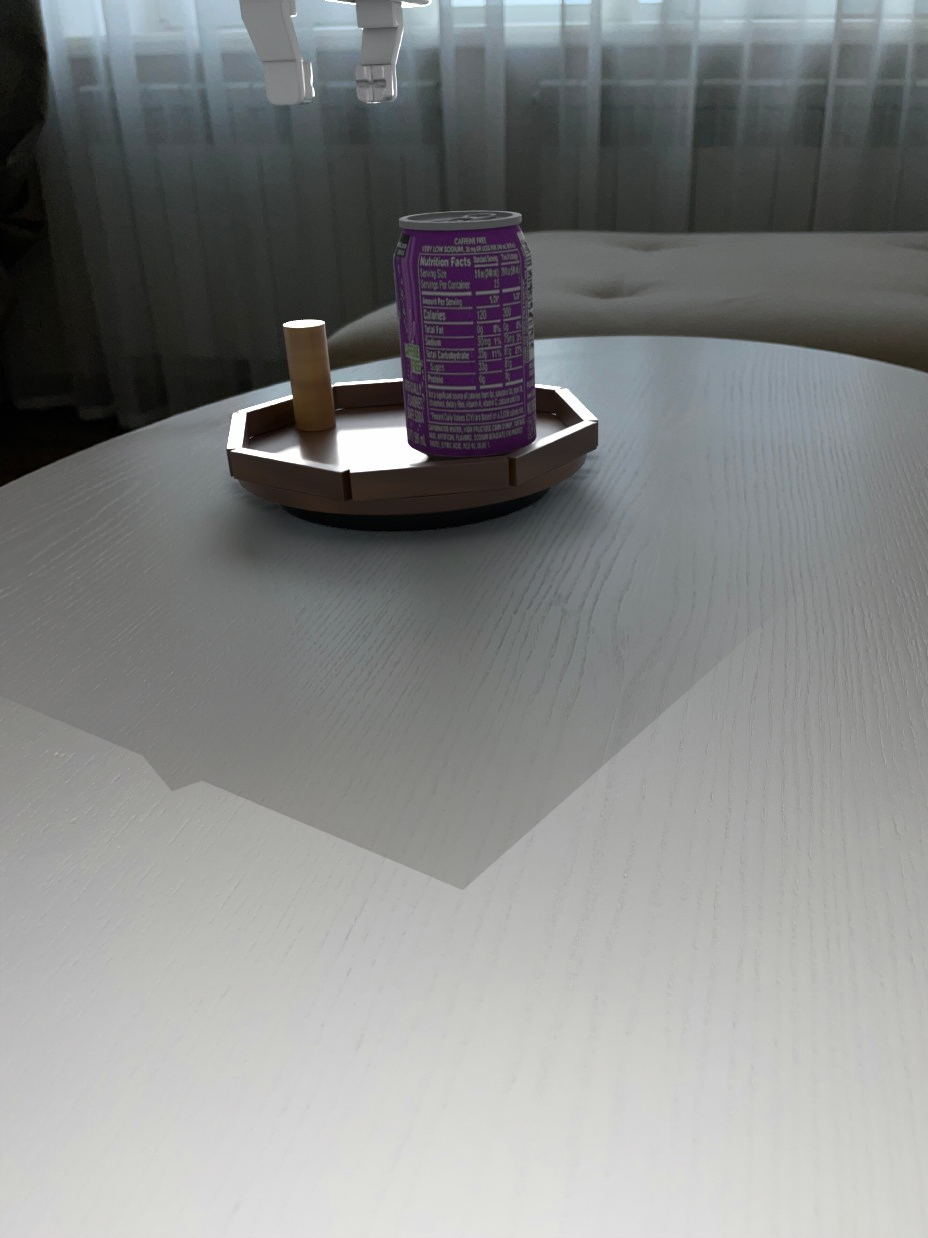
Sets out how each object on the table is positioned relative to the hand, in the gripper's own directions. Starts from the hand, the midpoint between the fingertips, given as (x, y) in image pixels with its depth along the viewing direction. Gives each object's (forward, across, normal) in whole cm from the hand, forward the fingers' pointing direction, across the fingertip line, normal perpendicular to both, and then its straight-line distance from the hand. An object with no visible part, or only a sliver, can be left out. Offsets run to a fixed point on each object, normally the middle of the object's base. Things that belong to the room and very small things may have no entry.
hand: (337, 104), depth 56 cm
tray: (+18, 0, +3) cm, 18 cm away
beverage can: (+17, +2, +7) cm, 19 cm away
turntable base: (+20, 0, +3) cm, 20 cm away
